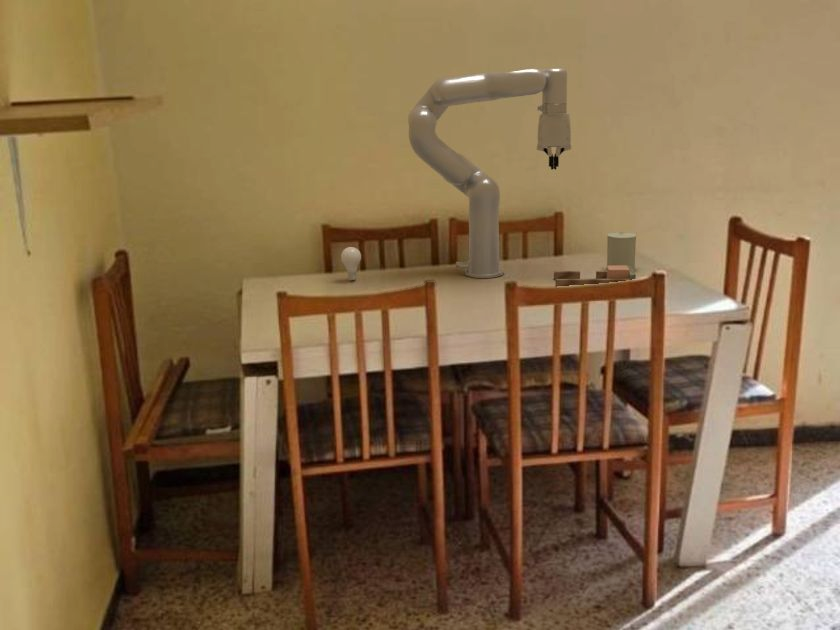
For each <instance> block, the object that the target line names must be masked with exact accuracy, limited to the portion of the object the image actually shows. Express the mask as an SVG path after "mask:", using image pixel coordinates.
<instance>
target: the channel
mask: <svg viewBox="0 0 840 630" xmlns="http://www.w3.org/2000/svg"><path fill="white" fill-rule="evenodd" d="M627 267H628V268H629V279H607V270H596V272H595V278H581V271H580V270H554V271H553V280H554V281H555V285H554V286H556V287H557V286H569V285H584V284H599V283H609V282H618V281H626V280H632V279H636V276H637V275H636V273H635V271H633V269H632V268H631V266H627ZM556 287H555V288H556Z"/></svg>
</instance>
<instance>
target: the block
mask: <svg viewBox="0 0 840 630" xmlns="http://www.w3.org/2000/svg"><path fill="white" fill-rule="evenodd" d="M606 268H607V270H606V271H607V279H629V268H628V267H627V265H618V266H607V265H606Z"/></svg>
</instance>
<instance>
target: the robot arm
mask: <svg viewBox="0 0 840 630" xmlns="http://www.w3.org/2000/svg"><path fill="white" fill-rule="evenodd" d="M541 92H542V93H541ZM539 93H541V94H542V95H541V103H542V104H540V105H538V106H537V111H540V112H541V114H539V117H538V125H537V145H536V150H537V151H540V152H544V153H545V154H546V155H547V156H548V167H550V170H552V171H553V170H557V167H559V163H560V161H559V159H560V156H561V154H563V152H567V151H570V150H572V146H571V139H572V138H571V136H572V135H571V132H572V131H571V129H572V128H571V117H570V113H567V112H568V109H567V108H568V107H567V106H568V104H567V103H568V96H567V95H568V71H567V69H565V68H562V67H561V68H560V67H559V68H557V67H553V68H551V67H550V68H545V69H542V68H541V69H539V68H534V67H532V68H531V67H529V68H528V67H527V68H525V69H521V70H515V71H507V72H506V71H505V72H490V71H489V72H479V73H472V74H465V75H458V76H456V75H455V76H450V77H440V78H437V79H436V80H435V81H434V82H433V83H432V84H431V85H430V87H429V88H428V89H427V91H426V92H425V93H424V95H422V97H421V98H420V99H419V100H418V102H417V103H416V104H415V105H414V106H413V108H412V109H411V110H410V112H409V114H408V117H407V123H408V140H409V144H410V146H411V149H412V150H413V151H414V153H415V155H417V157H418V158H419V159H421V160H422V161H423V162H424V163H426V164H427V166H429V167H430V168H431V169H433V170H434V171H435V172H436V173H437V174H438V175H440V176H441V177H442V179H444V181H446V182H447V183H448V184H451V185H452V186H453V187H454V188H456V189H457V190H458V191H459V192H461V193H462V194H463V195H465V196H466V197H467V198H468V241H469V242H468V244H469V246H468V249H469V252H468V253H469V254H468V255H469V258H468V260H465V261H455V268H456V269H465V270H464V275H466V277H470V278H477V279H490V278H491V279H492V278H498V277H501V276H503V275H504V274H505V271H504V268H502V267H500V226H499V225H500V224H499V223H500V222H499V221H500V220H499V217H500V216H499V215H500V201H501V196H500V195H501V192H500V188H499V185H498V183H497V182H496V180H495V179H493V177H491V176H489V175H488V174H487V173H486V172H485V171H483V170H482V169H481V168H479V167H478V166H477V165H475V163H473V162H472V161H470V160H469V158H467V157H465V156H464V155H463V154H461V153H460V152H459V153H458V152H456V150H454V149H452V148H451V147H450V146H449V145H448V144H447V143H445V142H444V141H443V140H442V139H441V138H439V136H438V134H437V131H436V129H437V128H436V126H437V121H439V119H440V118H441V117H442V116H443V114H444V113H445V112H446V111H447V109H448V108H449V107H451V106H459V105H466V104H467V105H468V104H473V103H480V102H483V103H484V102H490V101H491V102H492V101H496V100H502V99H509V98H515V97H523V96H524V97H525V96H532V95H537V94H539ZM552 148H555V153H553V152H552Z"/></svg>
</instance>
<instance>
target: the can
mask: <svg viewBox="0 0 840 630" xmlns="http://www.w3.org/2000/svg"><path fill="white" fill-rule="evenodd" d="M606 239H607V247H606V248H607V251H606V252H607V254H606V255H607V256H606V270H605V271H607V266H618V265H627V266H631V268H632V269H633V271H634V272H636V245H637V244H636V243H637V234H636V233H633V232H626V231H625V232H622V231H621V232H619V231H618V232H617V231H616V232H610V233H608V234H607V238H606Z"/></svg>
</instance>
